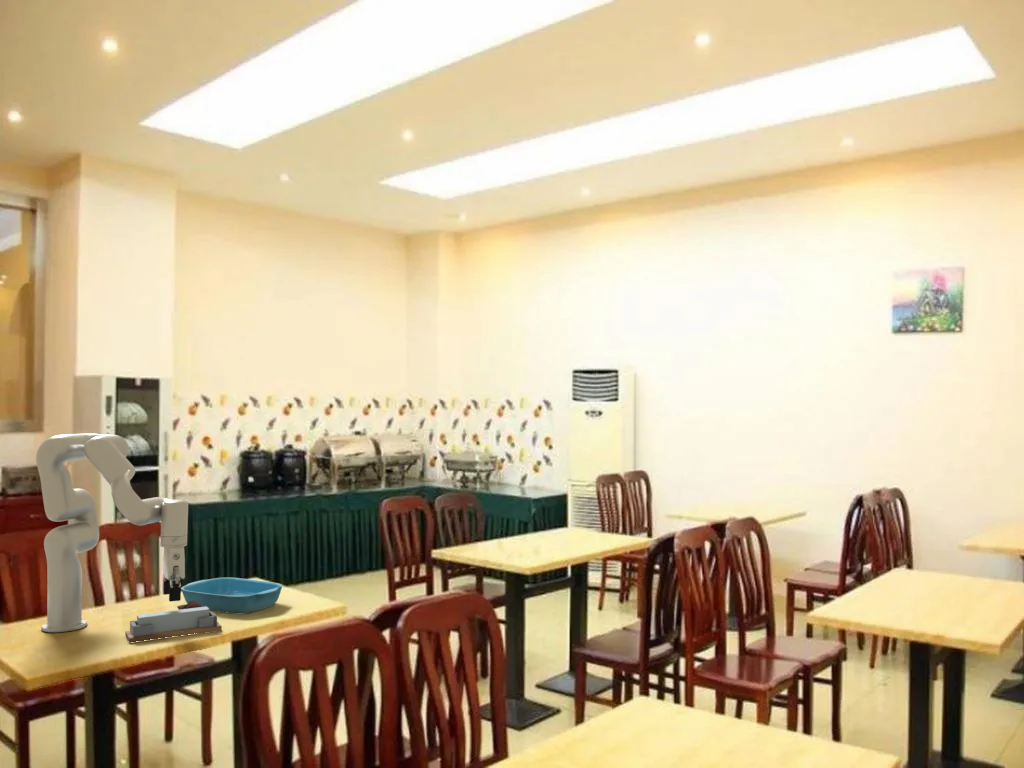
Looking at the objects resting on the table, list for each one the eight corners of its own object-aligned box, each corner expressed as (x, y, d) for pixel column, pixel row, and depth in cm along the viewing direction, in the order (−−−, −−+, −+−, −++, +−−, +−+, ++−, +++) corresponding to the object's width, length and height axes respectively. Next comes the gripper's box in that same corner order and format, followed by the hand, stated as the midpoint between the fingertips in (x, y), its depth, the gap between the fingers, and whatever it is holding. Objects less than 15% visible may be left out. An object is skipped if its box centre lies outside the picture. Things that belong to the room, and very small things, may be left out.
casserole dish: (168, 607, 293) (168, 586, 293) (218, 593, 312) (218, 574, 312) (247, 620, 275) (247, 597, 275) (295, 605, 295) (295, 584, 295)
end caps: (130, 631, 256) (130, 621, 256) (211, 620, 268) (211, 610, 268) (133, 637, 249) (133, 626, 249) (217, 626, 262) (217, 616, 262)
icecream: (165, 601, 272) (193, 612, 264) (186, 591, 278) (214, 602, 270) (169, 621, 274) (197, 632, 266) (189, 611, 280) (217, 622, 271)
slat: (136, 631, 255) (137, 614, 255) (206, 622, 266) (206, 606, 266) (138, 634, 252) (138, 617, 252) (209, 625, 262) (209, 609, 262)
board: (125, 636, 256) (125, 631, 256) (215, 624, 269) (215, 619, 269) (129, 643, 248) (129, 638, 248) (221, 630, 262) (221, 626, 262)
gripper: (192, 544, 254) (190, 602, 254) (181, 535, 269) (179, 590, 268) (165, 546, 250) (163, 605, 250) (156, 536, 265) (154, 592, 265)
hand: (171, 597), depth 259 cm, fingers open, 9 cm apart
